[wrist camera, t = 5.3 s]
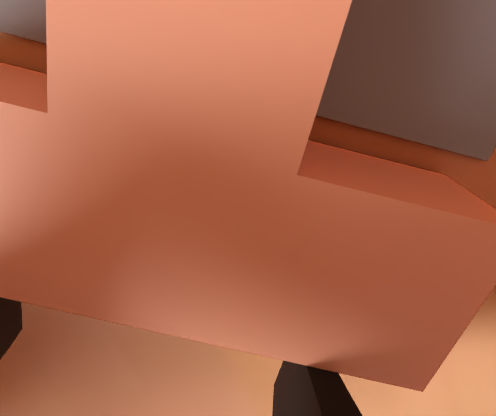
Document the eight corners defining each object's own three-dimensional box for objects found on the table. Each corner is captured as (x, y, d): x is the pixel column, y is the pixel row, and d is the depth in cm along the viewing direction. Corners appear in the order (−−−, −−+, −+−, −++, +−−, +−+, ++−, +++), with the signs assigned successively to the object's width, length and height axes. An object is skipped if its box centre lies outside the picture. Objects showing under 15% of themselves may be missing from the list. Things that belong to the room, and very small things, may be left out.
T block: (380, 299, 10) (423, 391, 7) (-28, 203, 9) (-149, 264, 7) (653, -230, 5) (1051, -528, 3) (-110, -469, 5) (-598, -1141, 2)
